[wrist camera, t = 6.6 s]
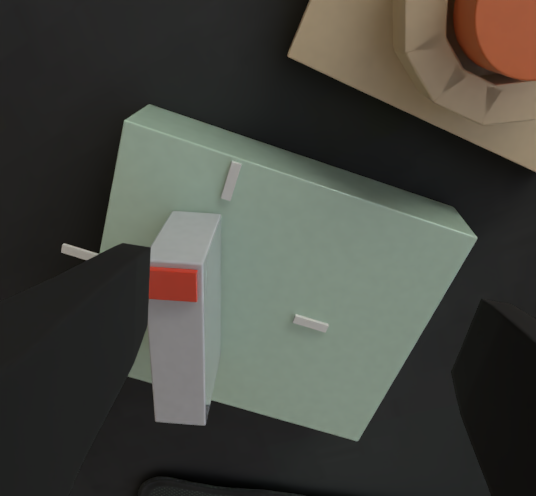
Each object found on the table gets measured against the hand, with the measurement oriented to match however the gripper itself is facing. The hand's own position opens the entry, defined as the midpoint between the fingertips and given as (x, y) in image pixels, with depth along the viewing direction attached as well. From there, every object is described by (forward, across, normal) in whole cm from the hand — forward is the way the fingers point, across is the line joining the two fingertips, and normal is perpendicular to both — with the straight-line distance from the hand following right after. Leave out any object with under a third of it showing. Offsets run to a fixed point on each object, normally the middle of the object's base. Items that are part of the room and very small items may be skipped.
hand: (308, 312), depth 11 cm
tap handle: (+7, +3, +4) cm, 9 cm away
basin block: (+10, +1, +5) cm, 11 cm away
